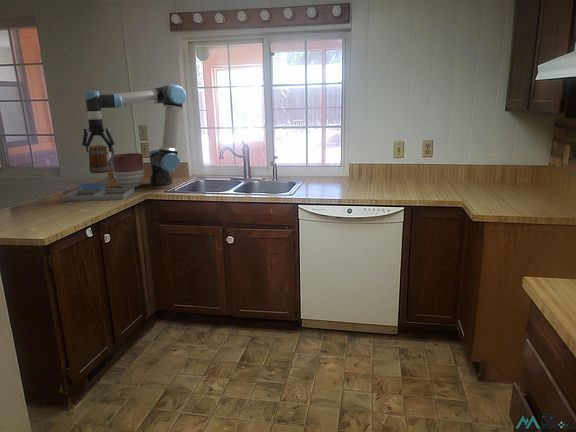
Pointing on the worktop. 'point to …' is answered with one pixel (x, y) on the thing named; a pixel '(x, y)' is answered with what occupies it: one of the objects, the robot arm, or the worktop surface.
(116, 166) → the planter
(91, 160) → the mug
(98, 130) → the robot arm
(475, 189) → the worktop surface
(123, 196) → the grey tray
